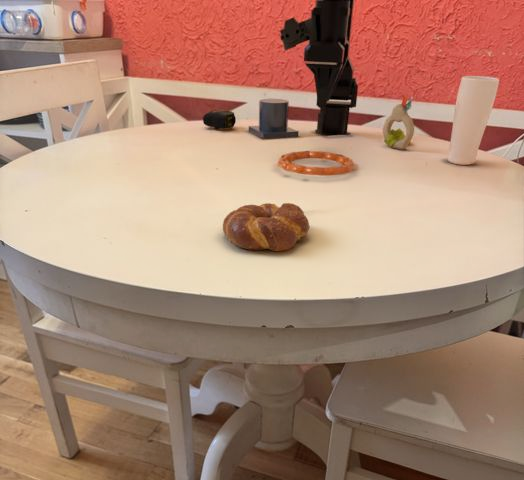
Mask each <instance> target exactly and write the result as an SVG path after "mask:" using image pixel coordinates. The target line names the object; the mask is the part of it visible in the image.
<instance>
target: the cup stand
mask: <svg viewBox="0 0 524 480" xmlns="http://www.w3.org/2000/svg"><path fill="white" fill-rule="evenodd" d="M258 105H259V107H258V125H249V126H248V132H249V133H251V134H253V135H254V136H256V137H259V138H260V139H262V140H269V139H271V140H272V139H285V138H297V137H299V132H300V131H299V130H297V129H294V128H292V127H290V126H289V106H290V101H289V100H288V99H283V98H262V99H259V100H258Z"/></svg>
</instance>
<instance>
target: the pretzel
mask: <svg viewBox="0 0 524 480" xmlns="http://www.w3.org/2000/svg"><path fill="white" fill-rule="evenodd" d="M310 228H311V227H310V222H309V219H308V217H307V216H306V215H305V213H304V210H303V209H302V208H301V207H300V206H298V205H297V204H294V203H290V202H284V203H282V204H281V205H280V206H277V205H276V204H275V203H270V202H269V203H266V202H265V203H262V204H260V205H257V204H247V205H246V204H245V205H242V206H240V207H238V208H237V209H234V210H232V211H231V212H229V213H228V214H227V215H226V216H225V218H224V219H223V223H222V231H223V234H224V236H225V237H226V238H227V239H228V240H229V241H230V242H231V243H232V244H233V245H235V246H237V247H239V248H242V249H246V250H250V251H254V250H258V251H259V250H270V251H274V252H282V251H286V250H290V249H291V248H293V247H294V246H295V245H296V244H297V242H298V241H300V240H301V238H302V237H305V236H306V235H307V234H308V232H309V230H310Z"/></svg>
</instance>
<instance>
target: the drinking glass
mask: <svg viewBox="0 0 524 480" xmlns="http://www.w3.org/2000/svg"><path fill="white" fill-rule="evenodd" d="M499 84H500V79H499V77H498V78H497V77H493V76H483V75H463V76H462V77H461V79H460V82H459V86H458V90H457V95H456V100H455V105H454V113H453V120H452V127H451V133H450V139H449V140H450V141H449V147H448V153H447V157H446V158H447V161H448V162H449V163H451V164H455V165H460V166H468V165H469V166H470V165H473V164H474V163H475V162H476V159H477V155H478V151H479V148H480V146H481V143H482V139H483V137H484V133H485V130H486V128H487V125H488V122H489V119H490V116H491V114H492V110H493V107H494V103H495V100H496V97H497V93H498V89H499Z"/></svg>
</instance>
